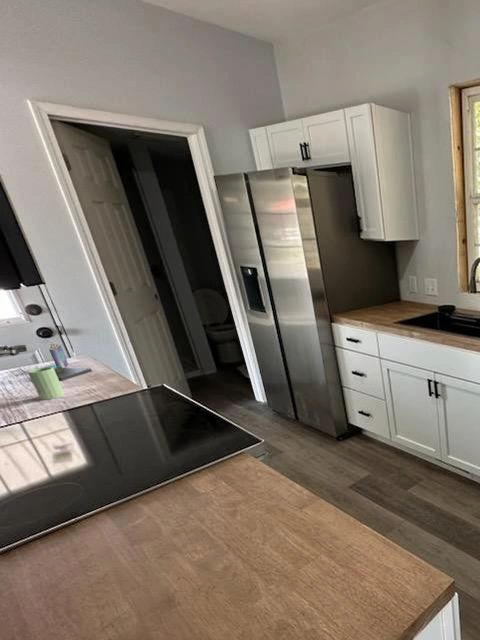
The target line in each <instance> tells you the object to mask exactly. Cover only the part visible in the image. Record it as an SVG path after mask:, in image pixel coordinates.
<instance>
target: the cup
mask: <svg viewBox="0 0 480 640" xmlns="http://www.w3.org/2000/svg"><path fill="white" fill-rule="evenodd" d="M27 375H28V377H29V379H30V380H31V383H32V384H33V387H34V389H35V391H36V394H37V396H38V398H39V400H41V401H47V400H53V399H57V398H60V397H63V396H65V394H66V393H65V390H64V388H63V386H62V384H61V381H59V379H58V377H57V375H56V372H55V370H54V368H53V367H46V366H45V367H38V368H34V369H30V370H28V371H27Z"/></svg>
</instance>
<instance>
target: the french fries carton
mask: <svg viewBox="0 0 480 640" xmlns="http://www.w3.org/2000/svg"><path fill="white" fill-rule="evenodd" d="M48 345H49V346H50V347H49V348H48V350H49V354H51V358H52V360H53V361H54V365H56V366H61V367H62V368H67V366H69V362H68V360H67V358H66V355H65V352H64V349H63V347H62V345H61V344H58V343H57V344H56V342H52V343H51V342H49V343H48Z"/></svg>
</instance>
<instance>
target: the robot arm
mask: <svg viewBox="0 0 480 640" xmlns="http://www.w3.org/2000/svg"><path fill="white" fill-rule="evenodd" d="M26 352H27V346H26V345H25V344H16V345H11V344H10V345H7V344H0V358H1V357H2V358H3V357H9V356H10V357H15V356H18V355H20V353H26Z"/></svg>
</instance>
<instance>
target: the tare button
mask: <svg viewBox="0 0 480 640" xmlns="http://www.w3.org/2000/svg"><path fill="white" fill-rule="evenodd" d="M45 367H53V368H54V369H56V368H57V367H56V364H49V365H46V366H45Z"/></svg>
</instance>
